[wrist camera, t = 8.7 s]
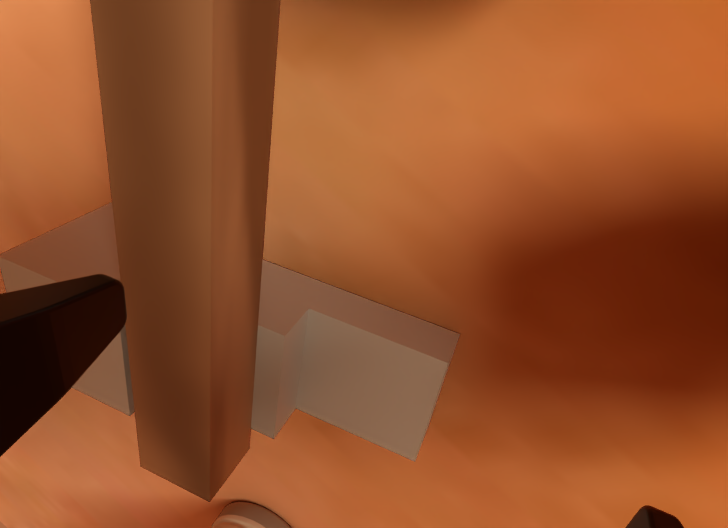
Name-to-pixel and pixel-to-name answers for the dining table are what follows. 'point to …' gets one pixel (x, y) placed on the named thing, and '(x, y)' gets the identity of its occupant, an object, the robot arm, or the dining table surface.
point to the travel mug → (248, 517)
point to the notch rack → (277, 344)
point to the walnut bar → (189, 217)
